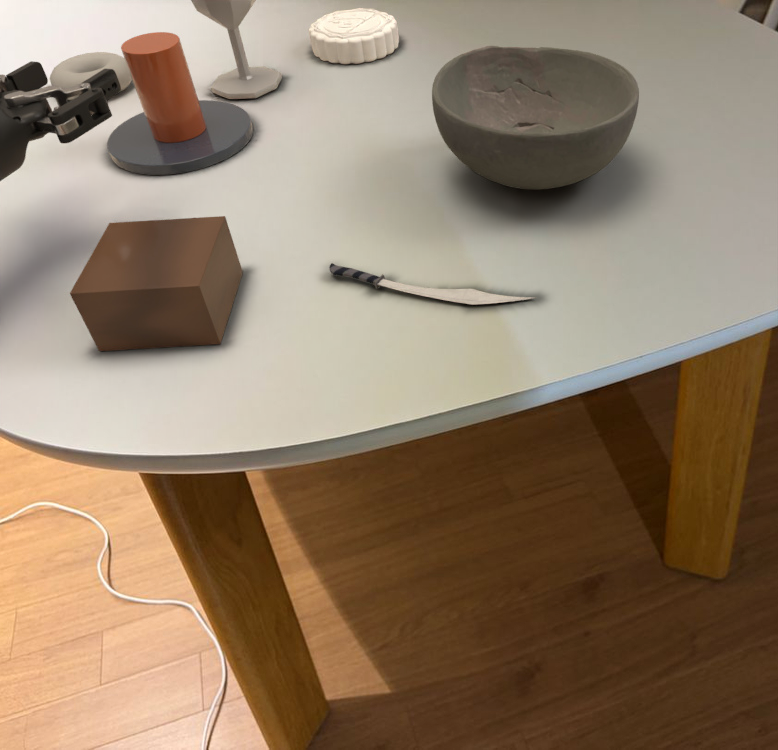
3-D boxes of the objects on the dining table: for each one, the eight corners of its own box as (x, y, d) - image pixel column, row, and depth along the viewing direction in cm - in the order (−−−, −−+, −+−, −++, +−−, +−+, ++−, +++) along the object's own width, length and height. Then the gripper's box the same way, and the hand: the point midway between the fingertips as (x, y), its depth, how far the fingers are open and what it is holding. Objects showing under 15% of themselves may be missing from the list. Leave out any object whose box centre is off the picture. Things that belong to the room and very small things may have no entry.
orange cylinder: (146, 144, 90) (113, 55, 83) (160, 120, 94) (130, 33, 87) (200, 141, 90) (171, 52, 83) (211, 117, 94) (185, 30, 87)
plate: (91, 179, 87) (87, 169, 86) (133, 113, 98) (130, 103, 98) (239, 170, 87) (236, 160, 86) (263, 105, 99) (261, 96, 98)
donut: (72, 76, 108) (44, 107, 100) (62, 50, 106) (32, 80, 98) (146, 72, 108) (123, 103, 100) (138, 46, 106) (113, 76, 98)
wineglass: (237, 69, 107) (190, -110, 93) (294, 76, 105) (255, -107, 90) (199, 97, 101) (142, -90, 87) (259, 104, 99) (210, -86, 84)
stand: (99, 351, 66) (69, 293, 62) (133, 278, 73) (109, 222, 69) (220, 344, 66) (199, 285, 62) (243, 272, 73) (225, 215, 69)
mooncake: (344, 26, 117) (340, 0, 114) (415, 37, 113) (412, 11, 110) (295, 57, 109) (289, 30, 107) (369, 70, 105) (365, 42, 103)
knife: (321, 284, 71) (319, 276, 71) (332, 268, 73) (330, 260, 72) (530, 315, 67) (530, 306, 66) (537, 297, 69) (537, 288, 68)
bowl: (481, 245, 75) (475, 147, 68) (415, 150, 89) (404, 60, 82) (669, 196, 80) (681, 99, 73) (579, 113, 94) (581, 26, 87)
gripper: (-7, 119, 61) (125, 40, 72) (-148, 102, 64) (-1, 29, 76) (36, 205, 66) (154, 119, 77) (-96, 185, 70) (34, 105, 81)
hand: (77, 74), depth 76 cm, fingers open, 8 cm apart
